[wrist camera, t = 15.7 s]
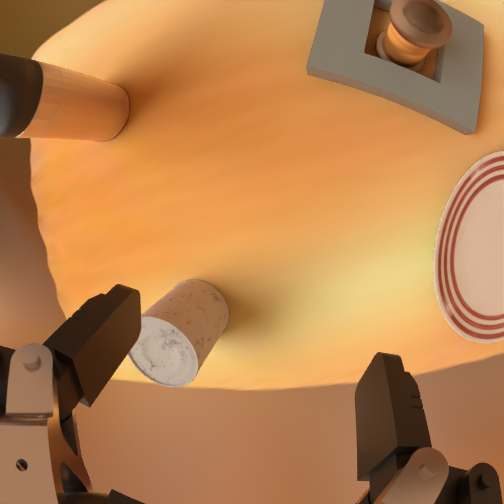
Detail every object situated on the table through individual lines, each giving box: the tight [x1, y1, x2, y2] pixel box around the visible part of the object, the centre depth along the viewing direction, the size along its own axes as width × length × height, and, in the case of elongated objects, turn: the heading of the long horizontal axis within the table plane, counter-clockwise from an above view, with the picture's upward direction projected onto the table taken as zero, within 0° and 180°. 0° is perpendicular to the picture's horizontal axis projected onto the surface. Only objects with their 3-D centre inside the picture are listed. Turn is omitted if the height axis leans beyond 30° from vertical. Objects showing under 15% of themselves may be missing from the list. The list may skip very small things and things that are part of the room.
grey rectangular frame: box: [307, 0, 484, 135], centre depth 27 cm, size 22×18×3 cm
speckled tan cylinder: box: [128, 280, 229, 387], centre depth 37 cm, size 10×10×12 cm
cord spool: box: [375, 0, 453, 72], centre depth 23 cm, size 7×7×11 cm
